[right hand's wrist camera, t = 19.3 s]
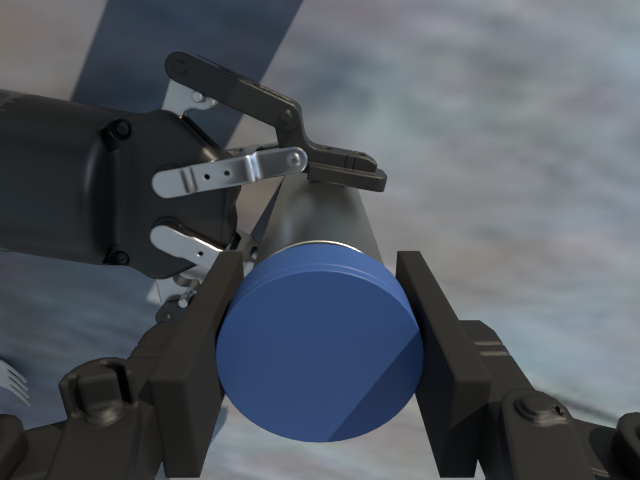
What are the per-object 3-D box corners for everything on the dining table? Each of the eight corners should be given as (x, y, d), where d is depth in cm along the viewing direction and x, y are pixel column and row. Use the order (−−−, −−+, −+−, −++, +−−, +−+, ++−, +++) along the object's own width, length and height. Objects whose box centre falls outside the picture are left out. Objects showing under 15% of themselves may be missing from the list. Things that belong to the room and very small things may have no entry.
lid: (273, 418, 14) (266, 463, 12) (196, 281, 12) (176, 313, 10) (432, 368, 13) (448, 410, 11) (377, 214, 11) (387, 238, 9)
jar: (350, 148, 26) (394, 248, 11) (361, 220, 27) (411, 394, 12) (274, 161, 26) (213, 276, 11) (289, 232, 28) (254, 415, 13)
